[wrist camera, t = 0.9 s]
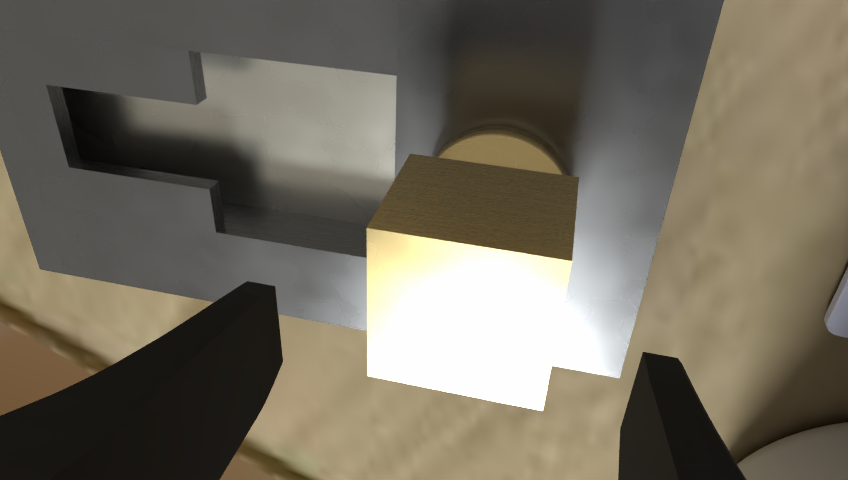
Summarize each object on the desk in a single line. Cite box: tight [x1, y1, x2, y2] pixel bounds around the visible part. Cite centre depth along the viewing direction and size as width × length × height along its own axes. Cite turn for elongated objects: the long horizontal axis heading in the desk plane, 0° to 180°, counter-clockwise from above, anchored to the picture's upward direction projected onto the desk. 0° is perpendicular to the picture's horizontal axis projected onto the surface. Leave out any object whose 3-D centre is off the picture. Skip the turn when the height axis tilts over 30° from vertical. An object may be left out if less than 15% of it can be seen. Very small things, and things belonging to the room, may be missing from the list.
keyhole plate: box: [0, 0, 724, 378], centre depth 21 cm, size 21×12×3 cm, turn 88°
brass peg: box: [367, 125, 579, 411], centre depth 16 cm, size 4×4×6 cm
